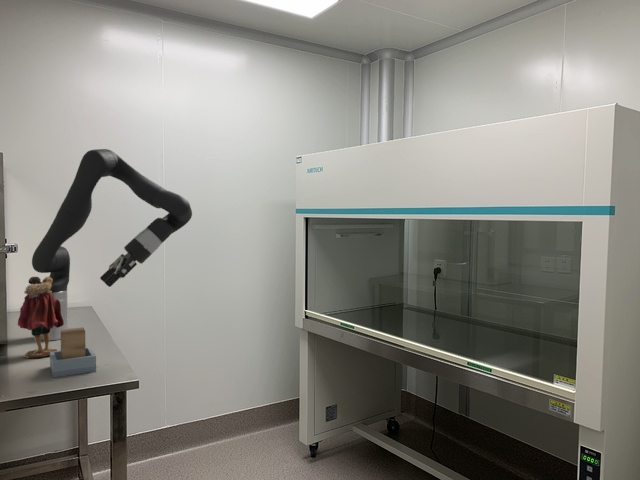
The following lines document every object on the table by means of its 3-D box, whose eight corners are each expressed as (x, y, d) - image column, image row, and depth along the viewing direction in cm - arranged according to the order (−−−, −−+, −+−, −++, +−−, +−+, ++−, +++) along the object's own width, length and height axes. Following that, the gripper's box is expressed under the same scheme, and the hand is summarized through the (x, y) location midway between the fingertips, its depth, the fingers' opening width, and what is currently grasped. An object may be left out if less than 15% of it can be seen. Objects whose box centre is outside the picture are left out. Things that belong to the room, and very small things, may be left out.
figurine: (54, 347, 166) (53, 274, 165) (68, 353, 160) (67, 277, 158) (13, 355, 157) (12, 277, 155) (26, 362, 150) (25, 280, 149)
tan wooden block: (60, 363, 145) (60, 329, 144) (83, 360, 148) (83, 327, 147) (62, 367, 141) (62, 333, 140) (85, 364, 144) (85, 330, 143)
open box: (50, 366, 146) (50, 351, 146) (90, 361, 152) (90, 346, 152) (53, 377, 137) (53, 361, 136) (96, 371, 143) (96, 356, 142)
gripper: (130, 235, 162) (91, 271, 156) (140, 239, 150) (99, 278, 144) (146, 251, 165) (109, 287, 159) (157, 256, 153) (117, 294, 147)
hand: (104, 282), depth 152 cm, fingers open, 8 cm apart
